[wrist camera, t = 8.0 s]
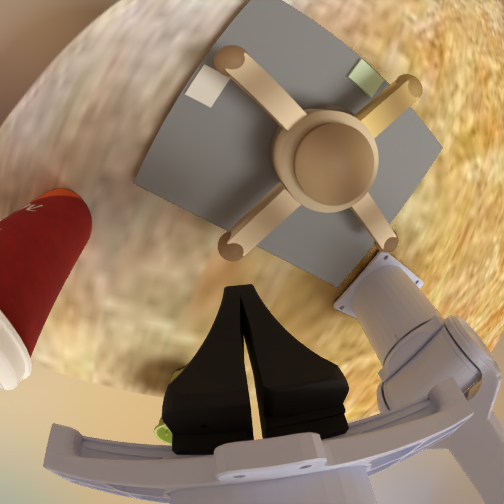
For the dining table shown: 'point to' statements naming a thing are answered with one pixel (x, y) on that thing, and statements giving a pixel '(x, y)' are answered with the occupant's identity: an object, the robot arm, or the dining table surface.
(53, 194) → the coffee cup
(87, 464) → the robot arm
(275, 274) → the dining table surface
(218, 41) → the stand board
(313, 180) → the tan cross-shaped piece
